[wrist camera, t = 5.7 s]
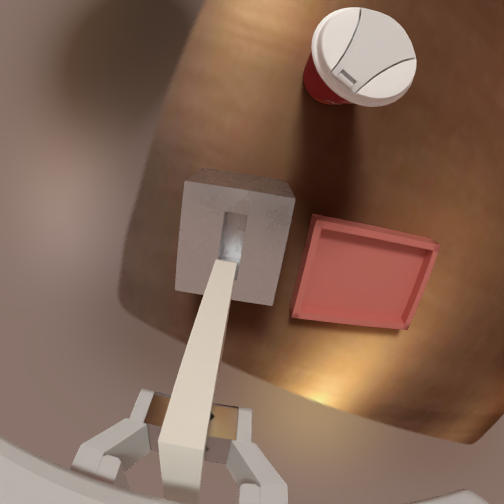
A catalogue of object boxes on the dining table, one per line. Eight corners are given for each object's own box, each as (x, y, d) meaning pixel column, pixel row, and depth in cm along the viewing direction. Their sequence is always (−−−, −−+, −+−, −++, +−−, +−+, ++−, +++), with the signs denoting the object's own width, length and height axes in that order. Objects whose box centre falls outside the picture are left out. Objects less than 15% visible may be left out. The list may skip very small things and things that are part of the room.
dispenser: (286, 181, 34) (295, 198, 25) (269, 265, 37) (272, 305, 29) (203, 167, 33) (184, 180, 25) (193, 253, 37) (175, 290, 29)
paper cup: (334, 128, 31) (381, 129, 18) (277, 82, 30) (290, 50, 17) (376, 79, 29) (441, 57, 16) (322, 33, 27) (359, -18, 14)
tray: (431, 238, 36) (440, 245, 33) (401, 319, 40) (407, 329, 38) (312, 213, 35) (316, 219, 33) (289, 306, 39) (291, 317, 37)
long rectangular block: (236, 262, 18) (203, 450, 7) (225, 334, 20) (197, 510, 9) (215, 259, 18) (157, 440, 7) (206, 330, 20) (165, 504, 9)
